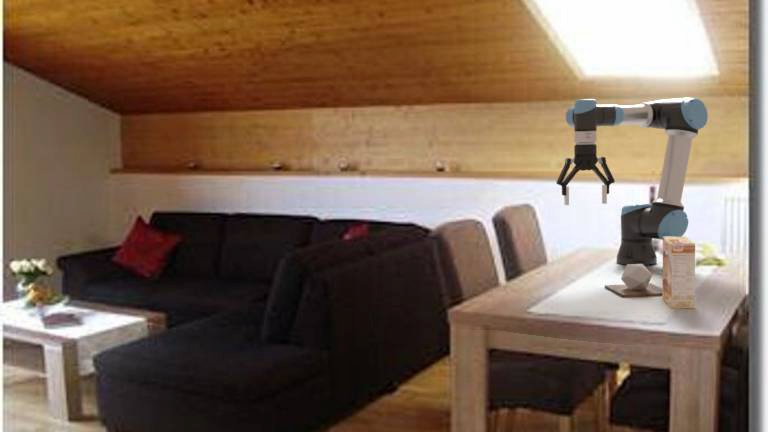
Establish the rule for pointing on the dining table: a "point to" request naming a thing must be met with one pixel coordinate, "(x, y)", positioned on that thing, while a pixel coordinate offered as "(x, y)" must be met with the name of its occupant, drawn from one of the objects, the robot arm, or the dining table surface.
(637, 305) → the dining table surface
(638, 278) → the die
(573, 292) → the dining table surface
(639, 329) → the dining table surface
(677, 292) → the coffeecake box
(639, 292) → the walnut board
